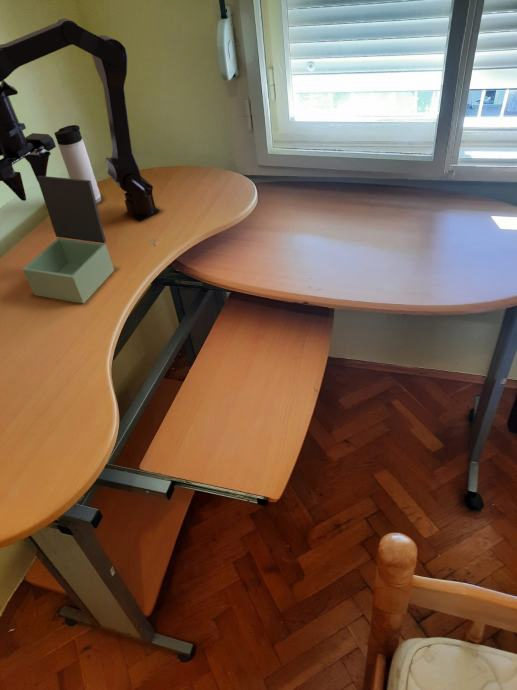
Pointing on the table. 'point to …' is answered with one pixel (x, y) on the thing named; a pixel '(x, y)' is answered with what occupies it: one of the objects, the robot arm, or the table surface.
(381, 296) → the table surface
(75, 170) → the travel mug
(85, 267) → the sage green storage tray
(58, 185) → the dark flat rectangular panel
